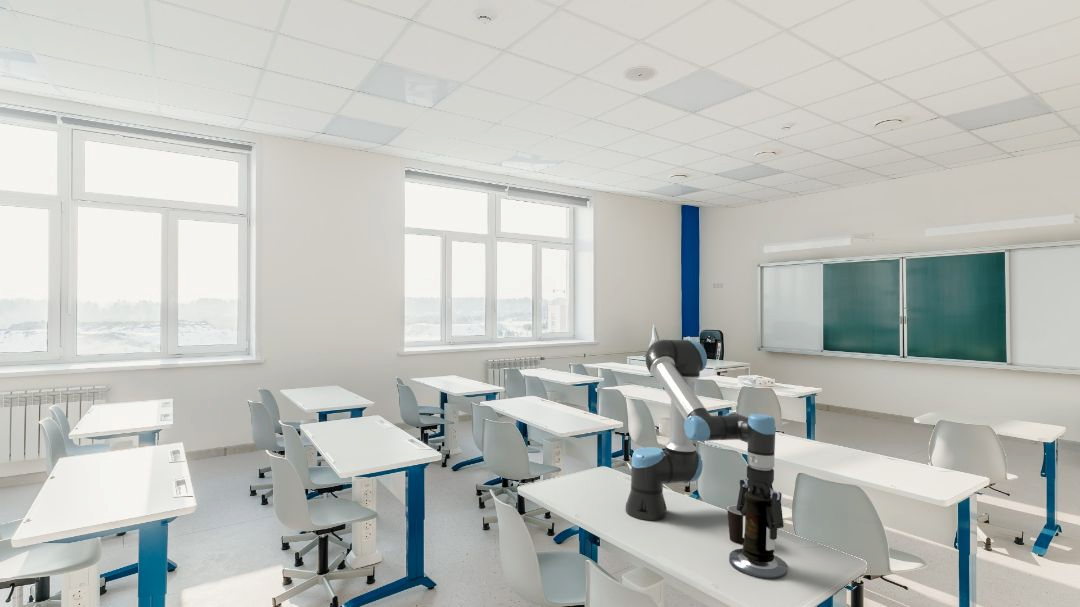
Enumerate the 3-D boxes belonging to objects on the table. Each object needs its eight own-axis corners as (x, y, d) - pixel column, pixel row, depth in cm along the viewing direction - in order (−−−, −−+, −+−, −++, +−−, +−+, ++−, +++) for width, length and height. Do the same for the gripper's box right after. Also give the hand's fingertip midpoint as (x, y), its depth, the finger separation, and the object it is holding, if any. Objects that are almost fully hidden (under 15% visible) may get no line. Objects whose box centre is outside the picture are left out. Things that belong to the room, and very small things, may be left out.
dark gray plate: (717, 558, 160) (717, 552, 160) (756, 550, 167) (756, 544, 167) (759, 583, 146) (759, 577, 146) (799, 573, 152) (799, 567, 152)
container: (751, 546, 163) (753, 488, 163) (779, 557, 156) (781, 496, 156) (735, 554, 157) (737, 493, 157) (764, 565, 150) (766, 502, 150)
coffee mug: (736, 547, 168) (737, 516, 169) (720, 536, 177) (721, 506, 177) (767, 544, 172) (768, 513, 172) (750, 533, 180) (751, 504, 180)
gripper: (725, 458, 165) (723, 531, 164) (780, 478, 146) (778, 560, 145) (743, 456, 168) (740, 527, 168) (799, 476, 149) (797, 556, 148)
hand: (758, 543), depth 156 cm, fingers closed on container, 8 cm apart
